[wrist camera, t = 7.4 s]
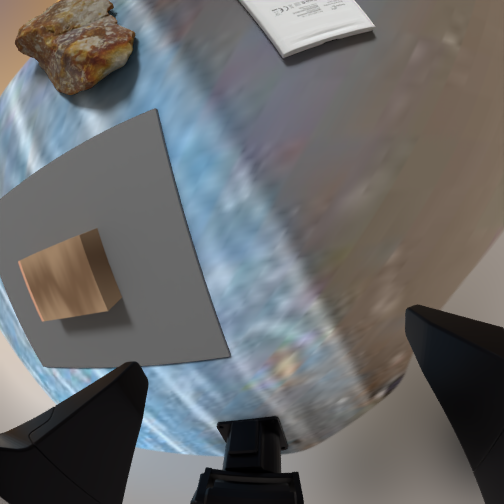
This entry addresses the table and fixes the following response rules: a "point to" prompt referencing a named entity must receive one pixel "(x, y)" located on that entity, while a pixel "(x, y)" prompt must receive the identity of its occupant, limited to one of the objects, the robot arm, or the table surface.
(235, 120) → the table surface
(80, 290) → the walnut slab
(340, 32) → the external hard drive
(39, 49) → the decorative stone
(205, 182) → the table surface
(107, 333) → the rubber mat
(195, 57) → the table surface
